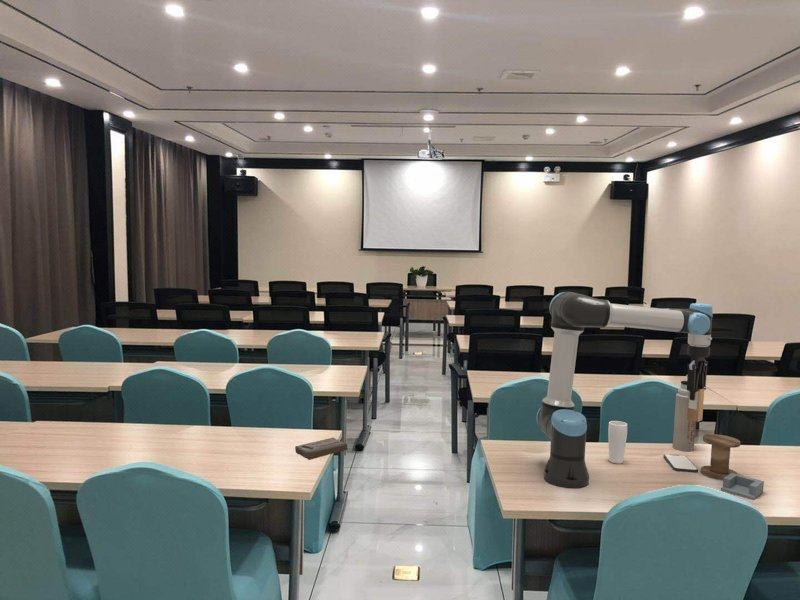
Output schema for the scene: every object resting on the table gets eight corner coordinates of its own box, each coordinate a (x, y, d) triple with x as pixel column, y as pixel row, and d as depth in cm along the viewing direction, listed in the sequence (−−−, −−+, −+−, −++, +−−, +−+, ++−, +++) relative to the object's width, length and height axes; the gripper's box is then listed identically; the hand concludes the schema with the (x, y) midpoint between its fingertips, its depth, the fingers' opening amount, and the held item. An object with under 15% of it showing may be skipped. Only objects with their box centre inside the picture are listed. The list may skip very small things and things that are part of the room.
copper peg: (698, 421, 221) (700, 389, 220) (686, 419, 224) (688, 387, 223) (702, 420, 224) (704, 388, 223) (691, 417, 227) (693, 386, 226)
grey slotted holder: (753, 499, 196) (754, 488, 196) (720, 490, 203) (721, 479, 203) (763, 492, 203) (763, 481, 203) (731, 483, 210) (731, 472, 210)
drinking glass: (626, 465, 226) (629, 426, 225) (607, 463, 227) (610, 424, 226) (623, 459, 232) (626, 421, 231) (605, 458, 234) (607, 420, 233)
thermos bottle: (698, 451, 246) (702, 383, 244) (682, 452, 243) (686, 384, 241) (684, 444, 253) (688, 379, 251) (668, 446, 251) (672, 379, 249)
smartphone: (699, 474, 220) (686, 459, 236) (699, 470, 220) (686, 455, 236) (673, 472, 222) (662, 457, 237) (673, 468, 221) (662, 453, 237)
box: (348, 451, 232) (347, 443, 232) (308, 460, 222) (308, 452, 221) (333, 444, 241) (332, 437, 241) (294, 453, 230) (294, 445, 230)
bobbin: (731, 483, 210) (733, 446, 209) (695, 473, 219) (697, 438, 218) (742, 475, 219) (745, 439, 218) (707, 466, 227) (710, 432, 226)
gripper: (700, 348, 213) (696, 413, 215) (718, 344, 225) (714, 406, 227) (678, 346, 219) (675, 409, 221) (697, 342, 231) (694, 402, 232)
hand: (695, 407), depth 224 cm, fingers closed on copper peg, 4 cm apart
